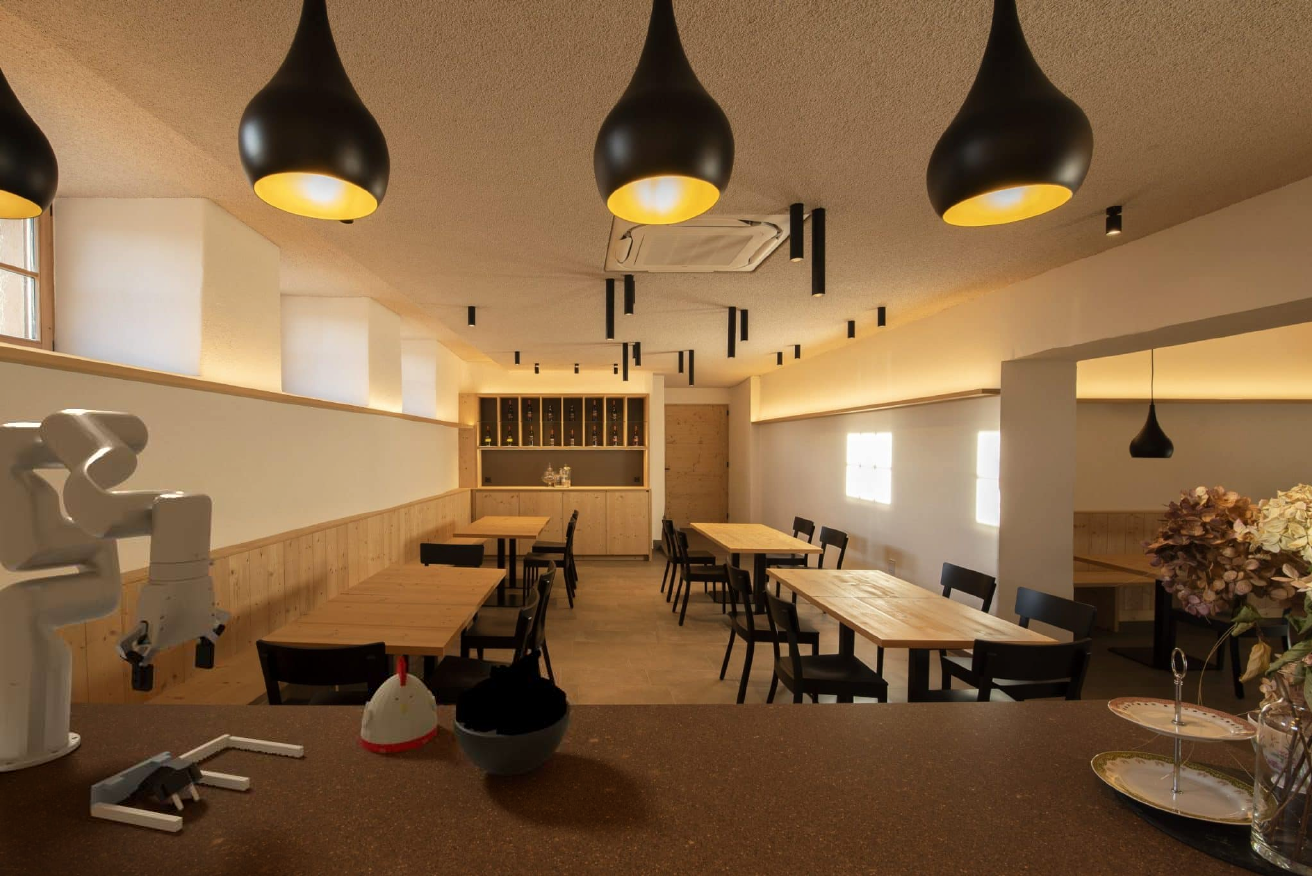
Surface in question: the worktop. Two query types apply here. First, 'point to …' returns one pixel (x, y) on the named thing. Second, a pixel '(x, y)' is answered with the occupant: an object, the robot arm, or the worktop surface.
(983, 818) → the worktop surface
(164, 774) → the power plug
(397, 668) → the kitchen timer
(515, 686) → the coal bowl
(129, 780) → the cable organizer
